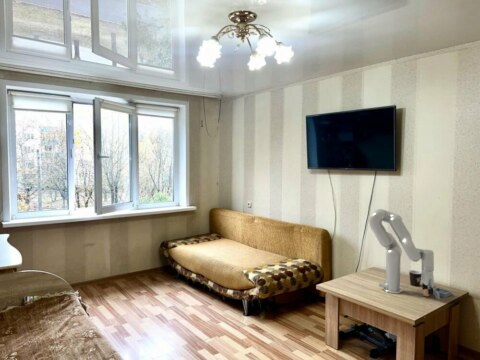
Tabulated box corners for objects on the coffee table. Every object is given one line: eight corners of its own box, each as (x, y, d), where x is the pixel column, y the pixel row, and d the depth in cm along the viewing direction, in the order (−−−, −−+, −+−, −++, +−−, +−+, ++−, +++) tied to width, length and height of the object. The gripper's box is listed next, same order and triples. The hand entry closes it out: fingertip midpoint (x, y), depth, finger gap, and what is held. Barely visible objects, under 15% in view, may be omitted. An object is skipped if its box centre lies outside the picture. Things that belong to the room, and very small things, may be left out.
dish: (445, 297, 238) (445, 294, 238) (431, 293, 246) (431, 290, 245) (451, 294, 244) (451, 291, 243) (437, 290, 251) (437, 287, 251)
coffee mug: (410, 286, 259) (410, 273, 258) (407, 282, 267) (407, 269, 267) (427, 287, 256) (427, 274, 256) (423, 283, 265) (424, 271, 264)
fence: (436, 299, 235) (436, 293, 235) (427, 290, 251) (427, 285, 250) (440, 299, 235) (440, 293, 235) (431, 290, 250) (431, 285, 250)
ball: (423, 297, 238) (423, 290, 238) (420, 294, 243) (421, 287, 243) (431, 297, 237) (431, 290, 237) (428, 295, 242) (428, 288, 242)
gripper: (417, 264, 248) (417, 287, 249) (426, 271, 231) (427, 296, 231) (428, 264, 247) (428, 287, 248) (438, 271, 230) (439, 296, 230)
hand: (427, 292), depth 240 cm, fingers open, 9 cm apart
